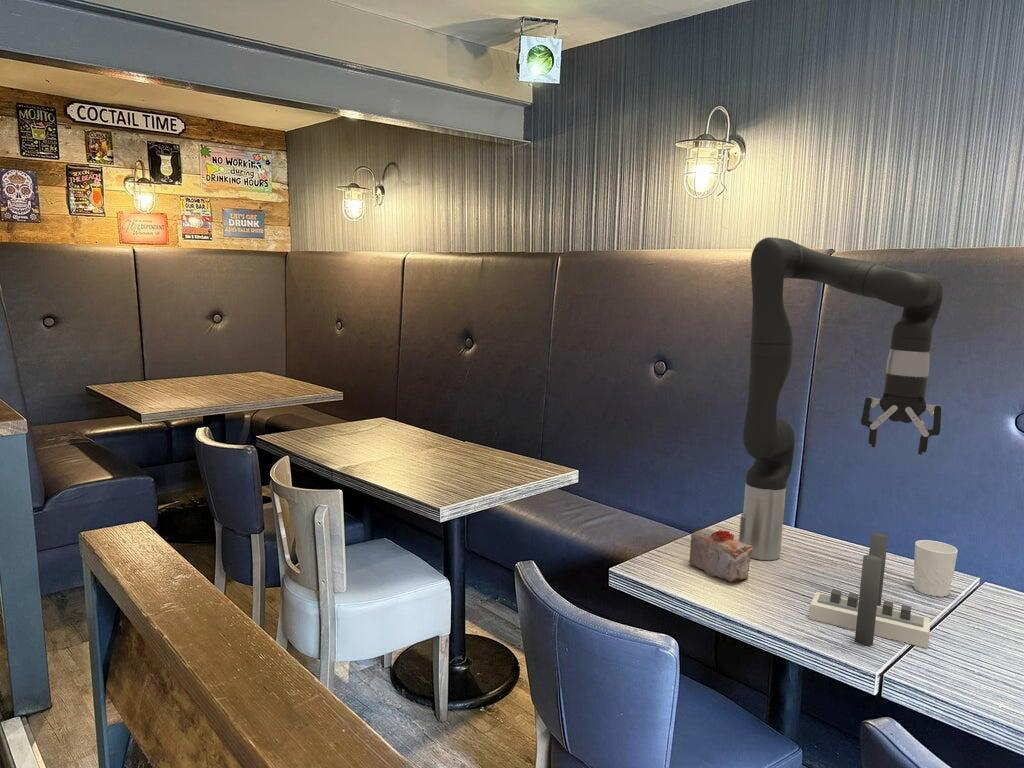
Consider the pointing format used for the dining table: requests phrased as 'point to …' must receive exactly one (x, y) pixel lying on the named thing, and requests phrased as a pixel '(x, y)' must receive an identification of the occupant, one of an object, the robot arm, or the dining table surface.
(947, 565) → the white cup
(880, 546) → the dark grey cylinder rod
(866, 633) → the dark grey post
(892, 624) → the breaker panel
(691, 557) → the food item
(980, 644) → the dining table surface
